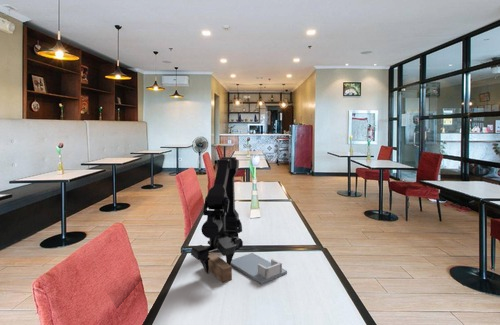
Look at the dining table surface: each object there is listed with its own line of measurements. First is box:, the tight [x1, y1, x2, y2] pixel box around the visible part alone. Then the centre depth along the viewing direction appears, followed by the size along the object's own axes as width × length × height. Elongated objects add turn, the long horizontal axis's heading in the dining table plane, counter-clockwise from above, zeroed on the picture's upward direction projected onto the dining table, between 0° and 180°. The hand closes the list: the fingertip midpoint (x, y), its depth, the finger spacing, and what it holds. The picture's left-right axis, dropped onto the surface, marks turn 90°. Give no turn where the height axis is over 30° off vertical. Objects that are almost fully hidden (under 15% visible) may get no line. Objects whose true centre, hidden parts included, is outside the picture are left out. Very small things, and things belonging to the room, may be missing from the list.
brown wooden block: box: [208, 252, 233, 283], centre depth 113 cm, size 14×4×5 cm, turn 33°
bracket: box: [230, 252, 288, 285], centre depth 116 cm, size 20×12×4 cm, turn 38°
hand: (218, 269), depth 113 cm, fingers open, 9 cm apart
